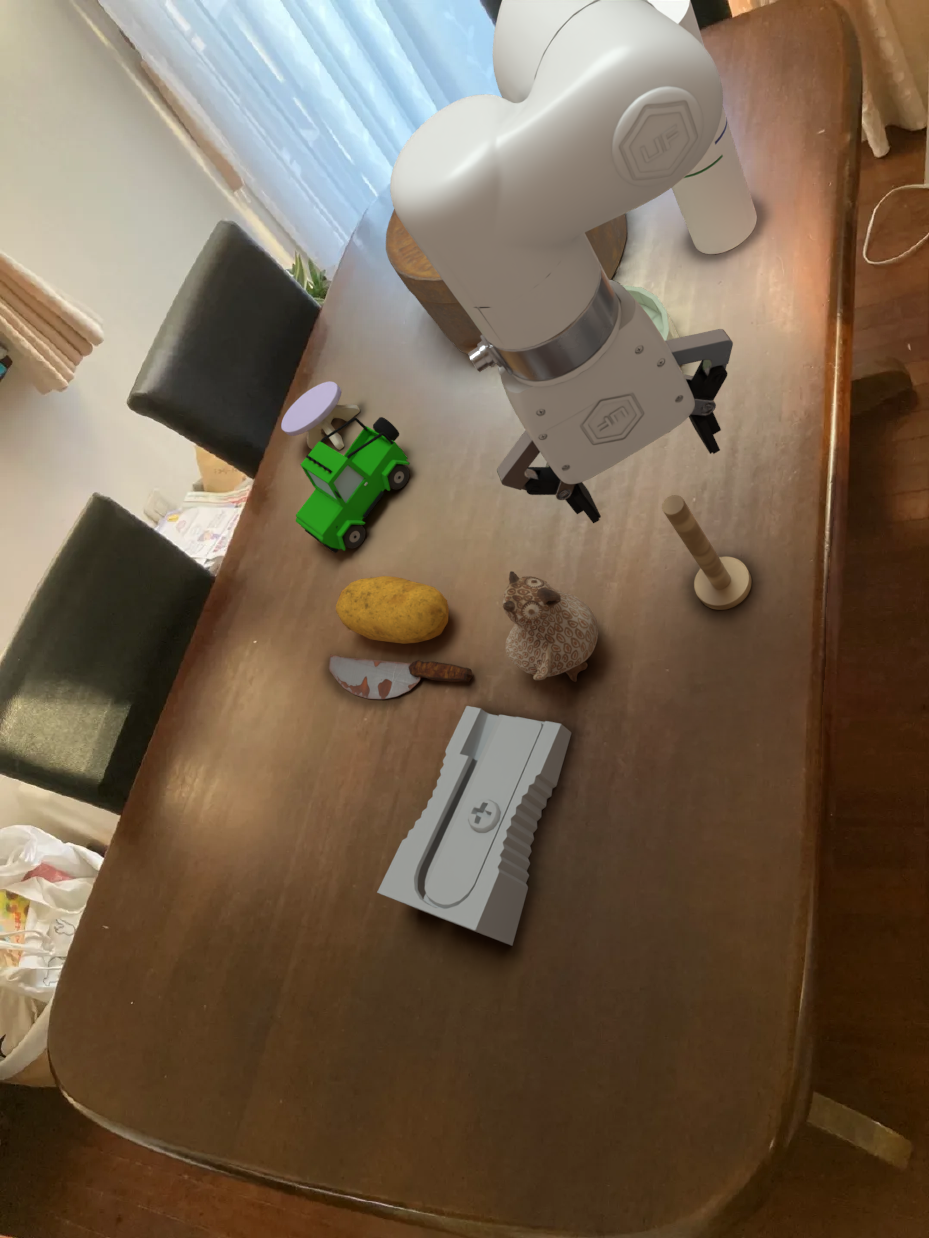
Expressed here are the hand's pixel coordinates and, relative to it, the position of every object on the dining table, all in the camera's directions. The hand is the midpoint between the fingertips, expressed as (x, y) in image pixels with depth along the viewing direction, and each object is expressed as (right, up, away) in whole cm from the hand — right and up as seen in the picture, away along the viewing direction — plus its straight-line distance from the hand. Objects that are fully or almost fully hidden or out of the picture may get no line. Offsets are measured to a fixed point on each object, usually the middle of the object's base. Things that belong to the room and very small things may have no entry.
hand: (648, 474), depth 61 cm
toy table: (-32, +16, +56) cm, 66 cm away
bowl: (+3, +17, +33) cm, 37 cm away
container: (-5, +35, +47) cm, 59 cm away
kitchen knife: (-21, -18, +31) cm, 42 cm away
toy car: (-26, +5, +46) cm, 53 cm away
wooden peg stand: (+10, -8, +15) cm, 20 cm away
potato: (-20, -11, +33) cm, 40 cm away
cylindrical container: (+16, +34, +33) cm, 50 cm away
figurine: (-3, -15, +21) cm, 26 cm away
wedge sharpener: (-11, -30, +18) cm, 37 cm away
